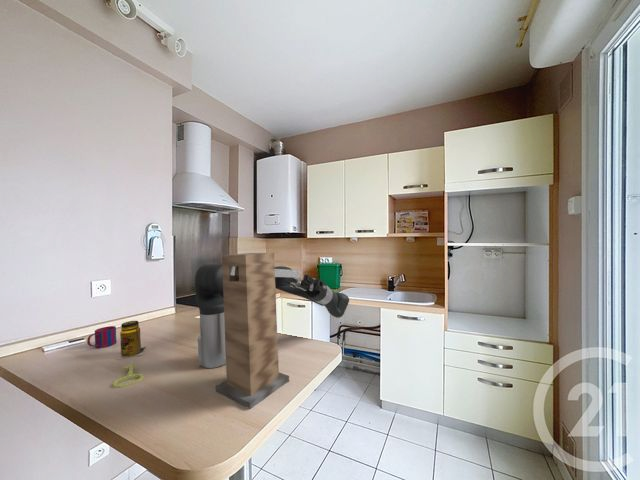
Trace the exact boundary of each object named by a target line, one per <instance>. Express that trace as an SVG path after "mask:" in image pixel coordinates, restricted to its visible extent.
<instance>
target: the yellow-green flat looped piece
mask: <svg viewBox="0 0 640 480" xmlns="http://www.w3.org/2000/svg"><path fill="white" fill-rule="evenodd" d="M128 369H129V370H128ZM134 369H135V363H131V364H129V365H127V366H126V365H125V366H124V368H123V370H128V373H127V374H125V376H122V377H119V378H118V379H116V380H115V381H113V383H112V388H115V389H117V388H125V387H128V386H132V385H134V384H137V383H140V382H141V381H142V380H143V379H144V374H142V373H134ZM132 379H135V380H133V381H131V382H128V383H123V384H119V383H122V382H124V381H128V380H132Z"/></svg>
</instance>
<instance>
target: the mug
mask: <svg viewBox="0 0 640 480" xmlns="http://www.w3.org/2000/svg"><path fill="white" fill-rule="evenodd" d="M93 336H94V344H91V338H92V337H93ZM86 341H87V345H88V346H89V347H92V348H95V349H103V348H109V347H112V346H115V345H116V344H117V327H116V326H115V325H112V326H111V325H110V326H108V325H107V326H103V327H99V328H97V329H96V330H94V333H92V334H90V335H89V336H88V337H87V340H86Z"/></svg>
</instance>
